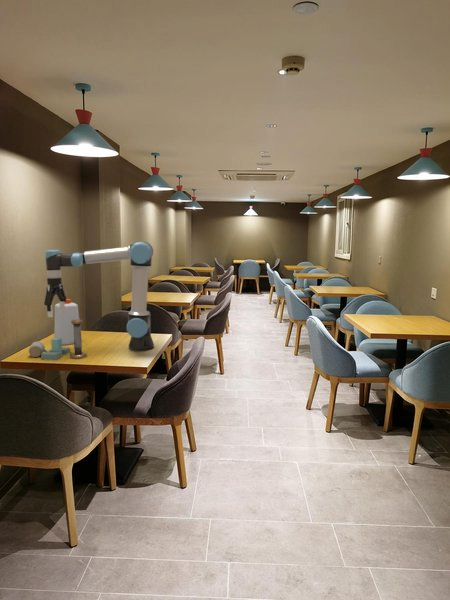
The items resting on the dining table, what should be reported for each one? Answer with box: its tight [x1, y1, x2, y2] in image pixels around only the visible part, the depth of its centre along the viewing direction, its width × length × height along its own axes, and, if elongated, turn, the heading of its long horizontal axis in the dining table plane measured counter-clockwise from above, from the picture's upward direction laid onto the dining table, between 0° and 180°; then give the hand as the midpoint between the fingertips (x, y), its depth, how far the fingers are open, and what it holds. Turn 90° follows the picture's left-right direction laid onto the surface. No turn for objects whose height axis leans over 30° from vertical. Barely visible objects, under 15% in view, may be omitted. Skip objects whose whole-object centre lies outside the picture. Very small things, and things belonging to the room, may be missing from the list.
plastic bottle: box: [53, 298, 83, 346], centre depth 294 cm, size 15×15×28 cm
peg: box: [50, 337, 63, 357], centre depth 263 cm, size 4×4×10 cm
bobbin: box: [69, 319, 88, 360], centre depth 260 cm, size 9×9×21 cm
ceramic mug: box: [28, 341, 48, 358], centre depth 264 cm, size 11×8×8 cm
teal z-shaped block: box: [40, 346, 72, 361], centre depth 264 cm, size 9×16×3 cm, turn 171°
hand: (56, 314), depth 261 cm, fingers open, 13 cm apart
